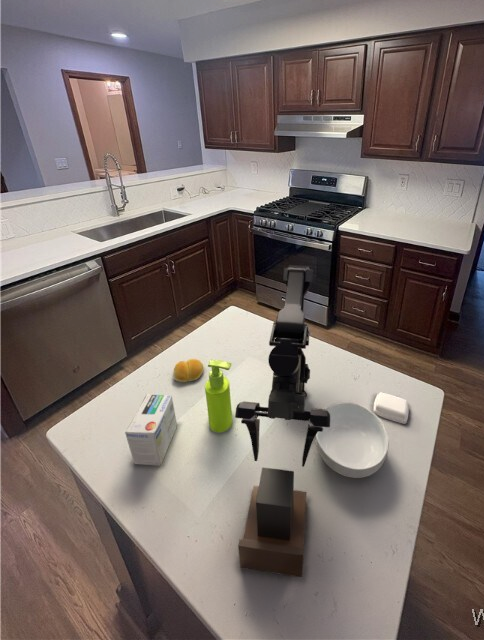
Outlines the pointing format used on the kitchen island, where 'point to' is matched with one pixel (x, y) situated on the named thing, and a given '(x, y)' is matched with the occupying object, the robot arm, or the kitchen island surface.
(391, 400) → the soap
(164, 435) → the light bulb box
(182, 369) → the bread roll
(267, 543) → the brown shallow tray
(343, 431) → the cereal bowl
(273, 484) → the dark grey upright block
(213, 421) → the soap dispenser
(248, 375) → the kitchen island surface
